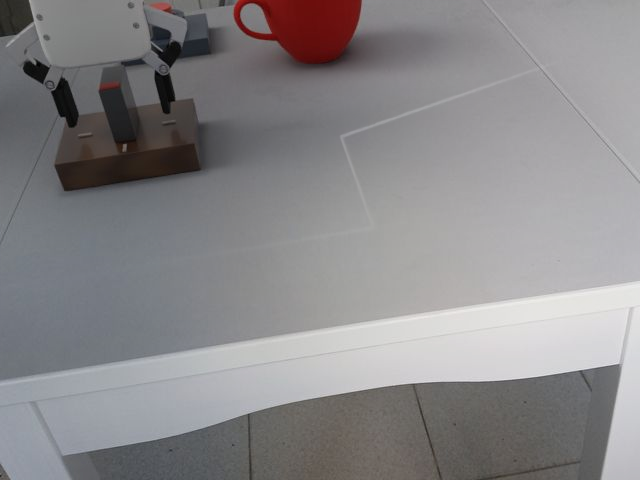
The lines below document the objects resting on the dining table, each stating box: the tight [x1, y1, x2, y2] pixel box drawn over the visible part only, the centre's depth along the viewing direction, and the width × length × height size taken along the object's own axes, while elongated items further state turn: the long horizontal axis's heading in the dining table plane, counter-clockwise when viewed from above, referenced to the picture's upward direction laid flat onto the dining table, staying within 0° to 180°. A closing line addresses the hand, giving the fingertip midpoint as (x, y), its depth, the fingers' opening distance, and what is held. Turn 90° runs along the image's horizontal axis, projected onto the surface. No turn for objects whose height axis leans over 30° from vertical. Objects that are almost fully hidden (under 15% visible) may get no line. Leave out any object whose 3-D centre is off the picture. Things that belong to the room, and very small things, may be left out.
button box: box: [120, 8, 212, 67], centre depth 100 cm, size 12×10×4 cm
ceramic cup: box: [232, 0, 363, 64], centre depth 91 cm, size 13×17×10 cm
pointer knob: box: [97, 64, 139, 143], centre depth 74 cm, size 6×2×6 cm, turn 10°
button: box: [148, 2, 173, 14], centre depth 98 cm, size 4×4×2 cm
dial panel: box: [53, 97, 202, 192], centre depth 77 cm, size 14×11×3 cm
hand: (121, 115), depth 75 cm, fingers open, 9 cm apart
